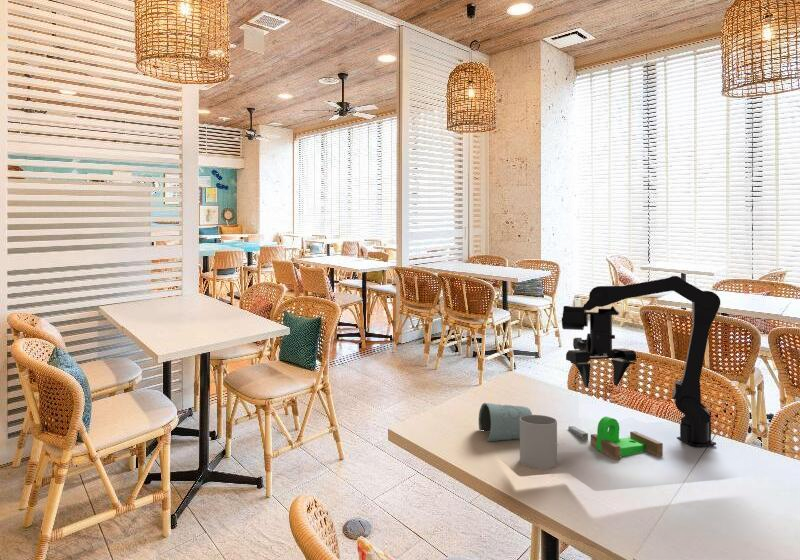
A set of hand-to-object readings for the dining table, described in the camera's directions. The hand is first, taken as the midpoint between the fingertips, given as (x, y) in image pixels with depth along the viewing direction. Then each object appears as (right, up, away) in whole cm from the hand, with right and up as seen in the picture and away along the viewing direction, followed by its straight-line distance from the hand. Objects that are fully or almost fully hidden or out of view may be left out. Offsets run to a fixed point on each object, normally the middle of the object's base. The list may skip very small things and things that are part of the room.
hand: (601, 386), depth 139 cm
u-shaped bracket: (-14, -13, -7) cm, 20 cm away
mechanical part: (-1, -13, -14) cm, 20 cm away
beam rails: (0, -13, -15) cm, 20 cm away
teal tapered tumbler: (-22, -9, -5) cm, 24 cm away
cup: (-24, -13, -23) cm, 35 cm away
